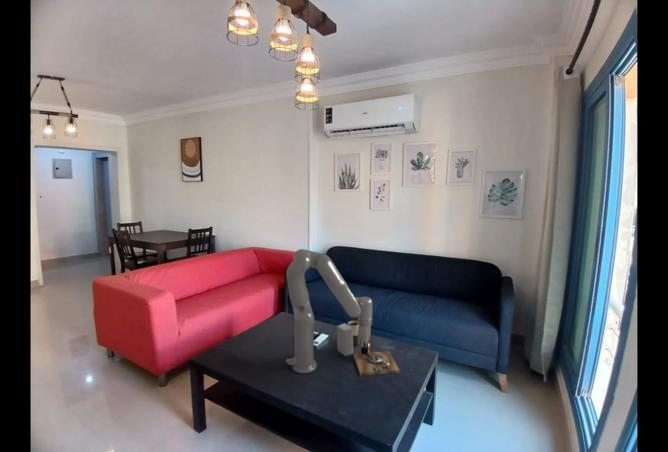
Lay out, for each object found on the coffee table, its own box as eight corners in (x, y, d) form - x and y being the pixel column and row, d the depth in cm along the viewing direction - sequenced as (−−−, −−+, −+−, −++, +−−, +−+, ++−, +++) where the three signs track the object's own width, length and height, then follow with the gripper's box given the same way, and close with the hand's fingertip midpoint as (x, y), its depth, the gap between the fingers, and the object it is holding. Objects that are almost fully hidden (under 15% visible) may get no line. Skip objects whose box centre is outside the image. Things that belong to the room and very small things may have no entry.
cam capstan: (394, 366, 160) (394, 354, 159) (382, 371, 155) (383, 359, 154) (371, 350, 174) (371, 340, 173) (360, 355, 170) (360, 344, 169)
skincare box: (353, 353, 175) (353, 328, 173) (344, 356, 172) (345, 330, 170) (344, 347, 182) (345, 322, 180) (336, 350, 178) (336, 325, 177)
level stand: (360, 375, 155) (360, 372, 154) (353, 356, 172) (353, 352, 172) (399, 372, 157) (399, 369, 157) (388, 353, 175) (388, 350, 174)
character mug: (363, 342, 187) (363, 321, 185) (361, 348, 180) (361, 326, 179) (345, 340, 190) (345, 319, 188) (343, 345, 183) (343, 324, 181)
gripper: (361, 314, 173) (361, 345, 176) (354, 325, 159) (353, 359, 162) (375, 316, 171) (374, 347, 173) (368, 327, 157) (368, 362, 159)
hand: (364, 353), depth 168 cm, fingers closed
